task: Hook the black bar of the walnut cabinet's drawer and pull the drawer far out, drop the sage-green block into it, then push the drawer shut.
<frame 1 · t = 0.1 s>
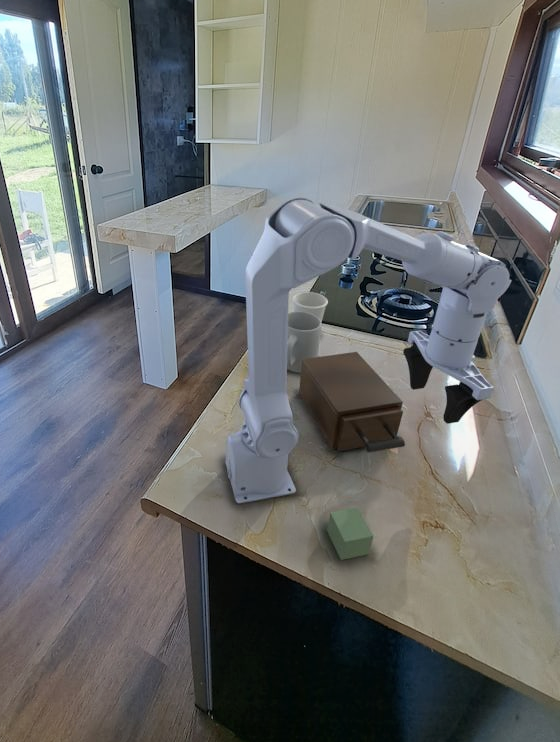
hand: (433, 403, 61), 10 cm above the kitchen counter, tool pointing down, fingers open, 7 cm apart
mug: (295, 366, 87), on the kitchen counter
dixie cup: (306, 334, 99), on the kitchen counter
drawer: (356, 411, 68), point 4 cm above the kitchen counter, slide at 0.0 cm
cabinet: (342, 414, 73), on the kitchen counter
block: (347, 542, 52), on the kitchen counter
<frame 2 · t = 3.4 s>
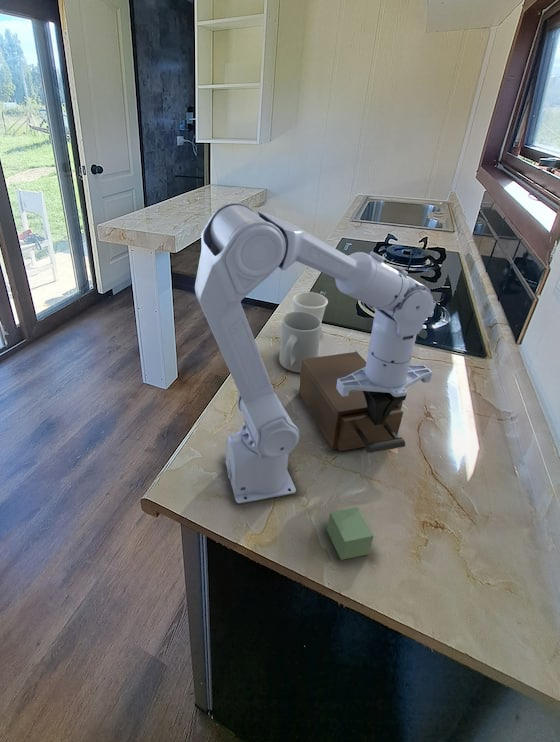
hand: (376, 420, 62), 7 cm above the kitchen counter, tool pointing down, fingers closed, pressing on drawer
drawer: (356, 412, 68), point 4 cm above the kitchen counter, slide at 0.1 cm, touching gripper
everything else where it was.
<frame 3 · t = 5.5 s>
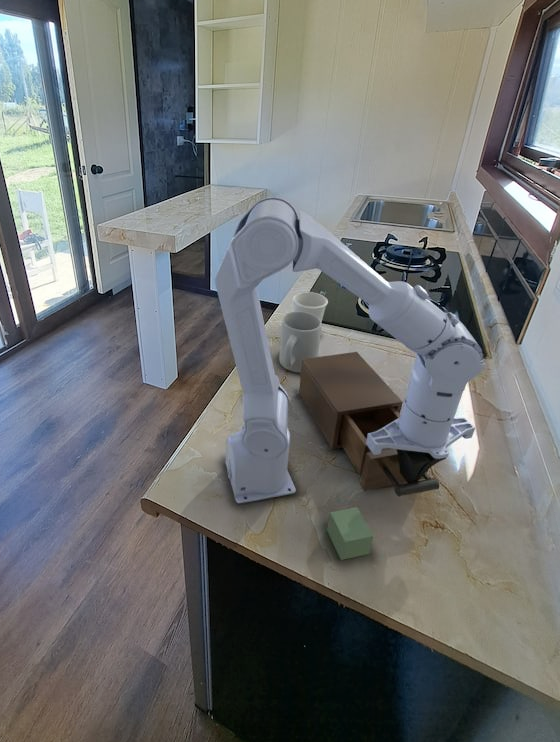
hand: (407, 477, 55), 5 cm above the kitchen counter, tool pointing down, fingers closed, pressing on drawer
drawer: (381, 445, 61), point 4 cm above the kitchen counter, slide at 7.5 cm, touching gripper
everything else where it was.
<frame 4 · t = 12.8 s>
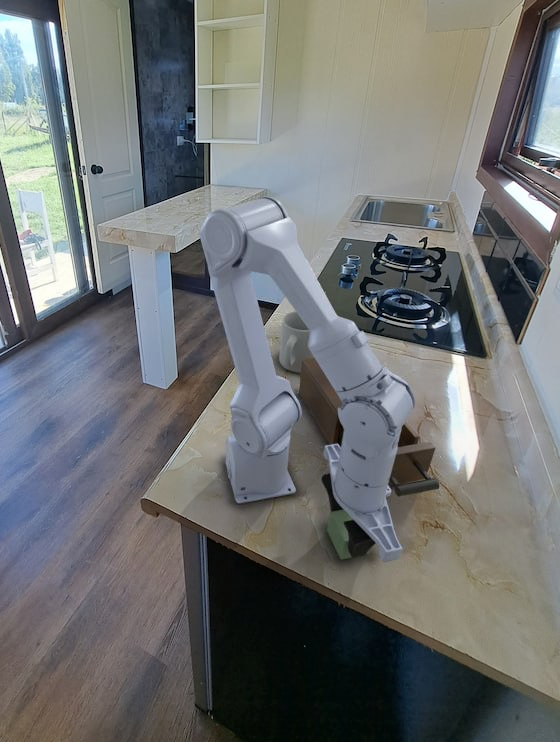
hand: (348, 535, 52), 1 cm above the kitchen counter, tool pointing down, fingers closed on block, 4 cm apart
drawer: (381, 445, 61), point 4 cm above the kitchen counter, slide at 7.5 cm
block: (347, 541, 52), on the kitchen counter, touching gripper
everything else where it was.
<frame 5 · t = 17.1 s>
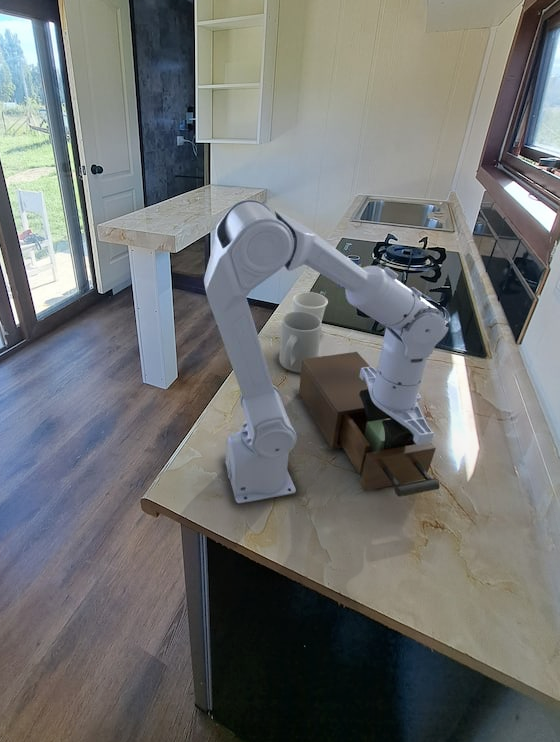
hand: (382, 441, 61), 5 cm above the kitchen counter, tool pointing down, fingers closed on block, 4 cm apart
drawer: (381, 445, 61), point 4 cm above the kitchen counter, slide at 7.5 cm, touching gripper
block: (381, 447, 61), point 4 cm above the kitchen counter, touching gripper
everything else where it was.
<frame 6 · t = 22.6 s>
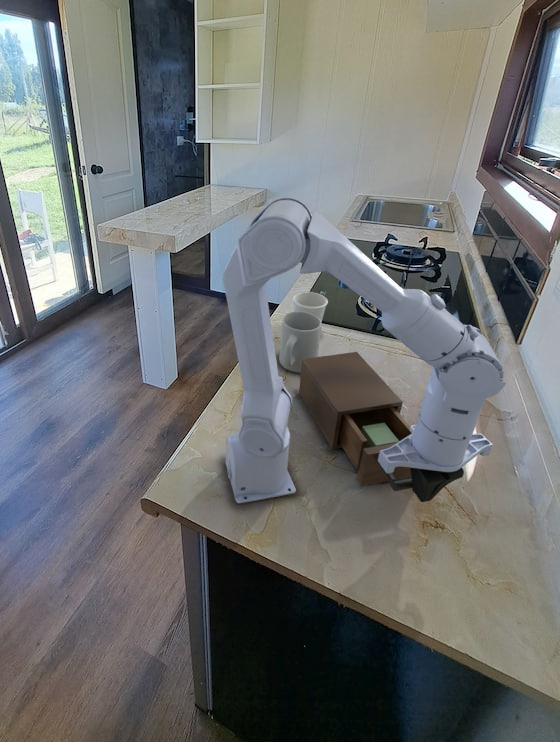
hand: (421, 495, 53), 5 cm above the kitchen counter, tool pointing down, fingers closed, pressing on drawer
drawer: (378, 441, 62), point 4 cm above the kitchen counter, slide at 6.7 cm, touching block, gripper
block: (376, 451, 63), point 2 cm above the kitchen counter, touching drawer
everything else where it was.
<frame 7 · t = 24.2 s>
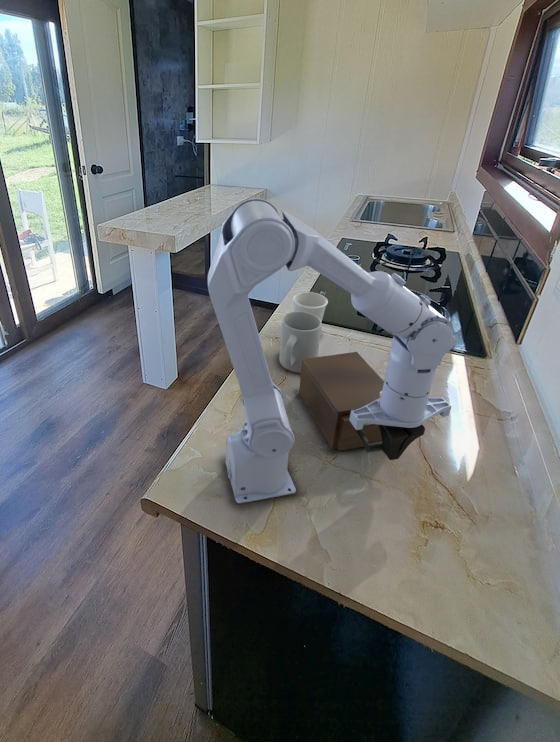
hand: (390, 454, 59), 5 cm above the kitchen counter, tool pointing down, fingers closed, pressing on drawer
drawer: (356, 411, 68), point 4 cm above the kitchen counter, slide at 0.0 cm, touching block, cabinet, gripper
block: (354, 421, 69), point 2 cm above the kitchen counter, touching drawer
everything else where it was.
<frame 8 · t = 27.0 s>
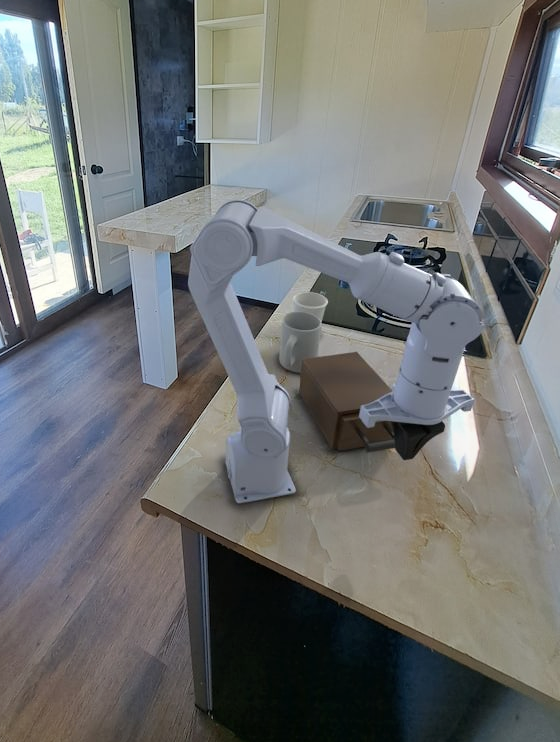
hand: (403, 453, 52), 10 cm above the kitchen counter, tool pointing down, fingers closed
drawer: (356, 411, 68), point 4 cm above the kitchen counter, slide at 0.0 cm, touching block
everything else where it was.
at the end: drawer pulled out 8.3 cm at the most during the clip, back to where it started at the end; block inside the target area in the cabinet (3.9 cm from its centre), point 2.0 cm above the cabinet's base; drawer slide at 0.0 cm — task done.
